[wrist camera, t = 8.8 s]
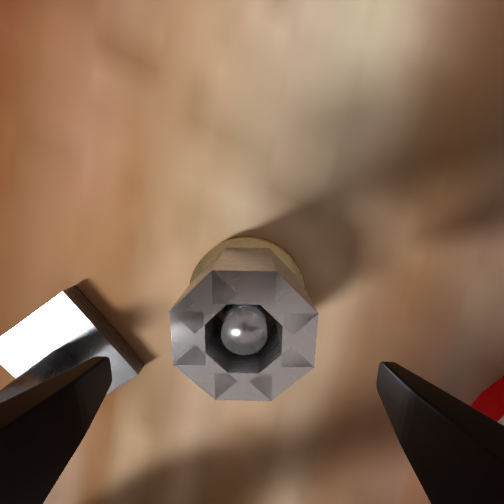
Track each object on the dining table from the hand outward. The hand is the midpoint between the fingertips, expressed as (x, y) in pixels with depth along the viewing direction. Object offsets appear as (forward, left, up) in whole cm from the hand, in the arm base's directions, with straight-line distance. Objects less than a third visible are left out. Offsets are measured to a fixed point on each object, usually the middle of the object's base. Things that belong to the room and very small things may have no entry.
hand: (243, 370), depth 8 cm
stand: (+3, +13, -7) cm, 15 cm away
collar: (0, 0, -6) cm, 6 cm away
